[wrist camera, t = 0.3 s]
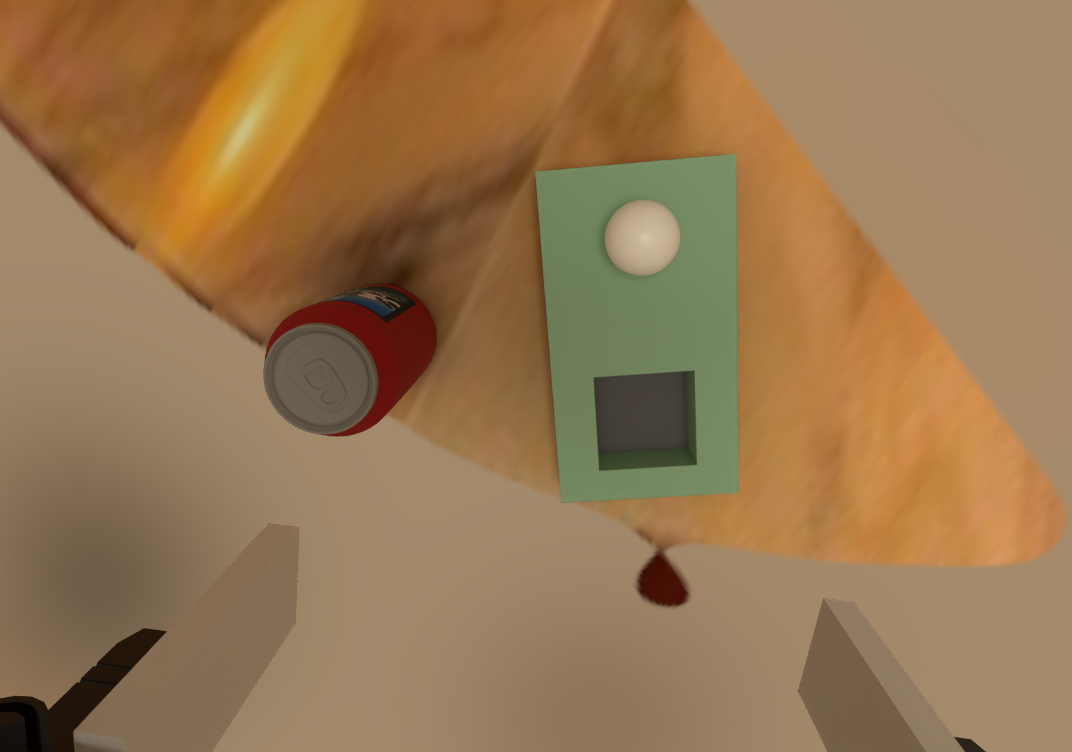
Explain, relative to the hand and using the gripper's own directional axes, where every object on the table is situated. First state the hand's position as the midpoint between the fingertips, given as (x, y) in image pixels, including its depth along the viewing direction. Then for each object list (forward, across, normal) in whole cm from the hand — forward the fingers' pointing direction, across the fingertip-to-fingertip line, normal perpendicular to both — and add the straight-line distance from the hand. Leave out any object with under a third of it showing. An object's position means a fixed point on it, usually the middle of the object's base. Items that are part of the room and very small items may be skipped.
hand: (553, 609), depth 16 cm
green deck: (+26, +5, +3) cm, 27 cm away
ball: (+21, +3, +9) cm, 23 cm away
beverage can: (+27, -11, 0) cm, 29 cm away
